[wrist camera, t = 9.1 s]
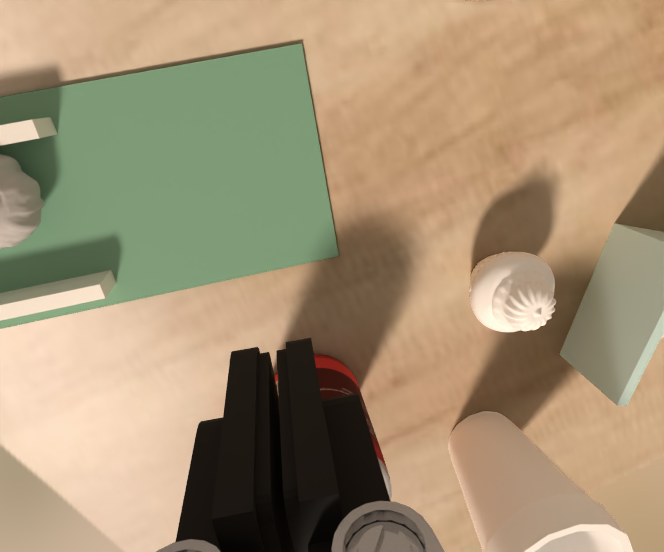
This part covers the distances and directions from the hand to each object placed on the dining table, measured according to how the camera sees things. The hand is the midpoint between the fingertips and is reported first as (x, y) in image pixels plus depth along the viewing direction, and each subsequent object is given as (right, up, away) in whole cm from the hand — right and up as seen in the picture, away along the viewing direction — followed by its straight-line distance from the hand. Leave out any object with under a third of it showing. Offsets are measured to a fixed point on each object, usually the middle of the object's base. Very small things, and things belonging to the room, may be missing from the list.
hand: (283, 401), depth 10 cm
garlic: (-19, +8, +19) cm, 28 cm away
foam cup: (+15, -12, +33) cm, 38 cm away
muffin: (+13, +3, +26) cm, 30 cm away
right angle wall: (+28, +1, +30) cm, 41 cm away
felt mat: (-12, +8, +20) cm, 25 cm away
